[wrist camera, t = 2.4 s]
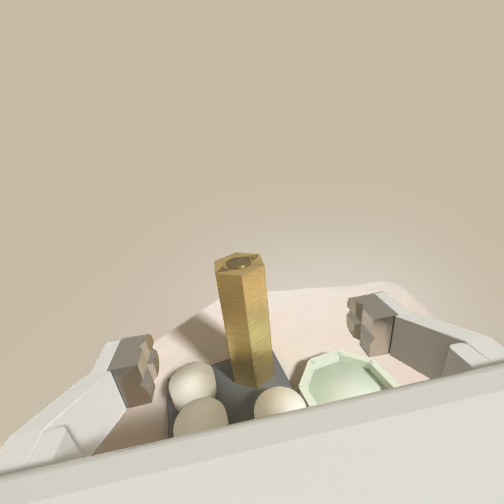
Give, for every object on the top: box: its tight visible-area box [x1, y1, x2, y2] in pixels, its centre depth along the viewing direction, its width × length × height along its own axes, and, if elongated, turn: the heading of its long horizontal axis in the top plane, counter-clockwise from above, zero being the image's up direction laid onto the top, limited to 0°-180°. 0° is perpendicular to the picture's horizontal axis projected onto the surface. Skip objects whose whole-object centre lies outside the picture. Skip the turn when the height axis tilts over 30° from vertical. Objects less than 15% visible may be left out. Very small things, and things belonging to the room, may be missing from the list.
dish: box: [299, 349, 401, 407], centre depth 24 cm, size 9×9×2 cm
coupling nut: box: [215, 253, 274, 389], centre depth 25 cm, size 4×5×13 cm
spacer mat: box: [168, 351, 306, 438], centre depth 20 cm, size 20×12×3 cm, turn 18°
